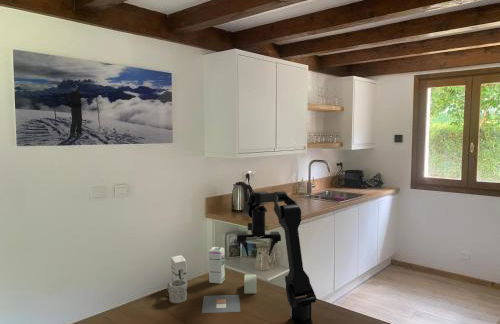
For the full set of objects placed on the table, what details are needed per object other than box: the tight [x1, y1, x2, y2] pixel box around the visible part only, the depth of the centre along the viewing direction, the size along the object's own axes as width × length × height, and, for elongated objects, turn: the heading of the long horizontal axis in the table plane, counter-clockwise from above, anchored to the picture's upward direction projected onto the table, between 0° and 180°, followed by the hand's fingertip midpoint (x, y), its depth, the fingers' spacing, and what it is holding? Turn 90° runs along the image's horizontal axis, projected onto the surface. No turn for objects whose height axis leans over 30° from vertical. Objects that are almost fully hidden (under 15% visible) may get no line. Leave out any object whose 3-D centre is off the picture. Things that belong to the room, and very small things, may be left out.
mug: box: [167, 280, 188, 304], centre depth 143 cm, size 10×7×7 cm
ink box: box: [170, 255, 188, 283], centre depth 155 cm, size 9×5×12 cm, turn 25°
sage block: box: [243, 273, 258, 294], centre depth 151 cm, size 5×8×5 cm, turn 0°
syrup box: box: [208, 246, 226, 284], centre depth 160 cm, size 6×6×14 cm
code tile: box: [201, 294, 241, 314], centre depth 139 cm, size 14×14×1 cm
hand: (258, 256), depth 157 cm, fingers open, 9 cm apart
